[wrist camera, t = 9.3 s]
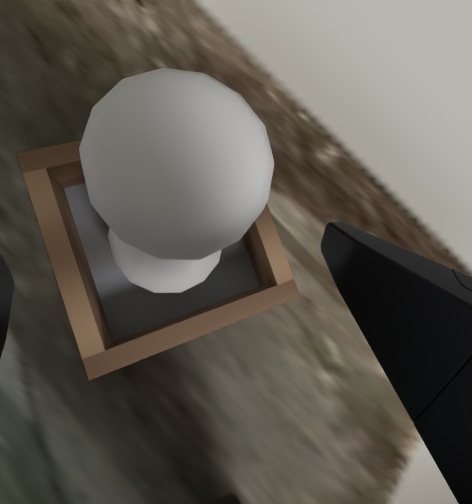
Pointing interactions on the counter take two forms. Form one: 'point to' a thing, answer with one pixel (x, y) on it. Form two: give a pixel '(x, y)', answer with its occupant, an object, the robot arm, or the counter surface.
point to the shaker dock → (129, 294)
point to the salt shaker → (174, 174)
